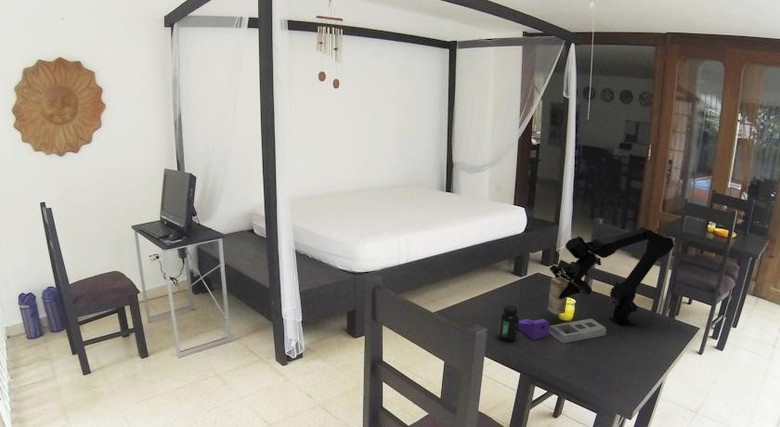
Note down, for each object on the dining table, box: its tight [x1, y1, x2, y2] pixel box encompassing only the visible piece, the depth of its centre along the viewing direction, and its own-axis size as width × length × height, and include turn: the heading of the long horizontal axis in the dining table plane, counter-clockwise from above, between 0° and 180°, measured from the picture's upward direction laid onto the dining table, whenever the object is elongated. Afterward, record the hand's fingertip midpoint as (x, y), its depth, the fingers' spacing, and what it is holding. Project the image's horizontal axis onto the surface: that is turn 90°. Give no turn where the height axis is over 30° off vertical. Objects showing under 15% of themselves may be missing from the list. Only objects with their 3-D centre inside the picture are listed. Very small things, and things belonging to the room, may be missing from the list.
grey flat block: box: [548, 318, 607, 344], centre depth 187 cm, size 20×8×3 cm, turn 111°
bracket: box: [518, 318, 550, 341], centre depth 188 cm, size 12×7×7 cm, turn 25°
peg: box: [547, 277, 569, 315], centre depth 188 cm, size 4×4×13 cm
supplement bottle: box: [498, 304, 520, 342], centre depth 182 cm, size 7×7×12 cm
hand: (555, 295), depth 188 cm, fingers closed on peg, 4 cm apart
